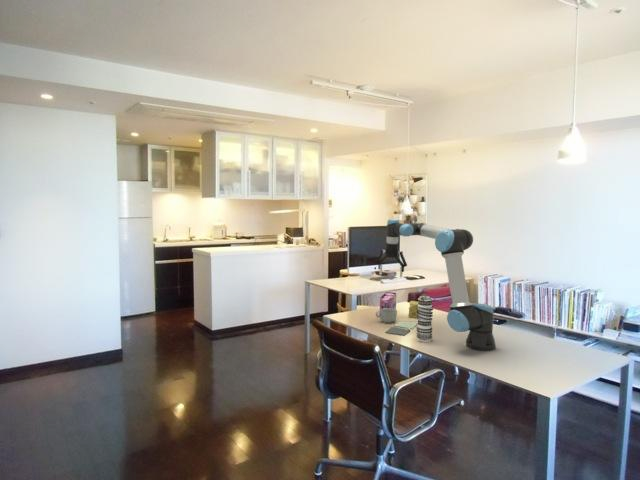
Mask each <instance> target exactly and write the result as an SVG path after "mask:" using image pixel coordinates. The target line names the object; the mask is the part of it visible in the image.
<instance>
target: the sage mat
mask: <svg viewBox="0 0 640 480" xmlns="http://www.w3.org/2000/svg"><path fill="white" fill-rule="evenodd" d="M416 325H417V326H418V322H417V323H416V322H408V321H402V320H400V321H398V322H397V323H395V324H394V325H393V327H394V328H401V327H402V328H401V329H408V328H410V329H409V330H413V329H414V328H416V327H417V326H416Z"/></svg>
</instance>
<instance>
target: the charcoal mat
mask: <svg viewBox="0 0 640 480" xmlns="http://www.w3.org/2000/svg"><path fill="white" fill-rule="evenodd" d="M409 331H410V332H411V329H408V328H401V327H394V326H393V327H392V326H391V327H390V328H388V329H387V330H386V331H384V333H385V334H389V335H394V336H395V335H396V336H403V337H406V335H407V334H409V333H410V332H409Z"/></svg>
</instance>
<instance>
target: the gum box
mask: <svg viewBox="0 0 640 480" xmlns="http://www.w3.org/2000/svg"><path fill="white" fill-rule="evenodd" d="M383 308H391V309H395V310H397V292H388V291H387V292H384V294H383V295H382V296H380V297H379V311H381V309H383ZM378 314H379V315H378V316H379V317H381V315H380V313H379V312H378Z"/></svg>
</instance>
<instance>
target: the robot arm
mask: <svg viewBox="0 0 640 480" xmlns="http://www.w3.org/2000/svg"><path fill="white" fill-rule="evenodd" d="M386 223H387V224H386V245H385V246H386V247H385V249H381V250H380V254H379V256H378V257H377V259H376V261H375V263H376V264H377V265H378V270H379V273H378V275H379V276H382V274H383V264H382V263H384V261H386V259H387V258H392V259H396V261H397V262H398V264H399V265H400V268H399V269H400V271H399V278H403V272H404V271H405V267H407V266H408V263H407V261H406V258H405V256H404V253H403V252H404V251H399V244H398V243H399V236H403V237H411V236H420V237H424V238H429V239H434V246H435V248H436V250H437V251H438V252H440V255H441V257H442V258H444V259H445V266H446V267H445V268H446V272H447V279H448V286H449V291H450V292H449V293H450V296H451V297H450V298H451V302H452V303H451V304H450V306H449V308H450V310H449V311H448V313H447V314H446V316H447V317H446V322H447V324H448V325H449V327H450V328H451V329H452V330H453V331H454V332H457V333H463V332H464V333H465V332H467V331H468V335H467V338H466V340H465V345H466V347H468V348H470V349H472V350H473V349H474V350H476V351H492V350H496V346H497V345H496V341H495V338H494V334H493V329H494V327H493V324H494V308H493V307H492V306H491V305H489V304H485V303H479V302H478V303H477V302H470V299H469V294H468V293H469V292H468V287H467V282H466V275H465V268H464V264H463V258H462V257H463V255H464V251H466V250H468V249H469V248H471V247H472V245H473V242H474V236H473V234H472V233H471V232H470V231H469V230H467V229H464V228H463V229H461V228H456V229H450V228H445V227H440V226H435V225H431V224H430V225H429V224H427V223H424V222H420V223H419V222H417V223H413V222H412V223H400V220H399V219H397V218H396V219H395V218H388V220H387V222H386ZM384 254H386V255H385V256H384V257H383V255H384ZM398 255H399V256H400V257H399V256H398ZM382 257H383V258H382Z"/></svg>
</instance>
